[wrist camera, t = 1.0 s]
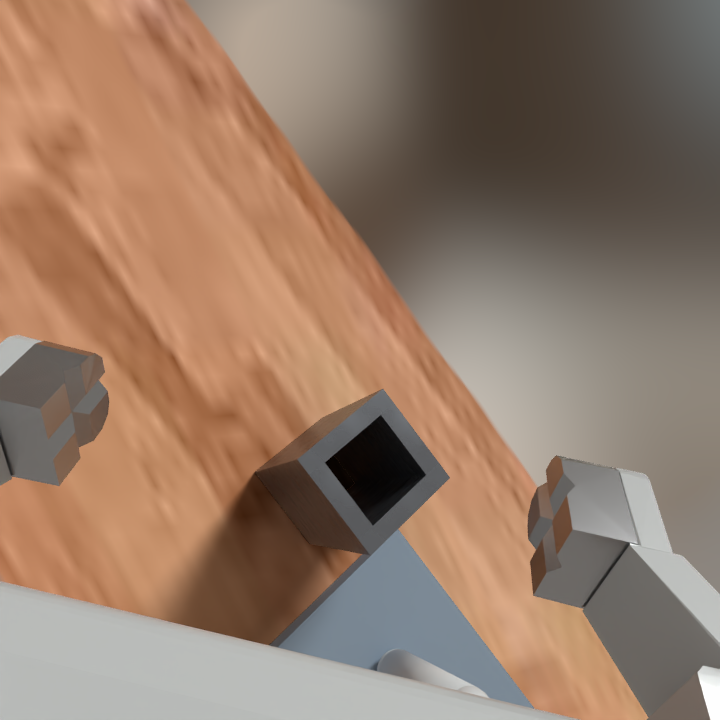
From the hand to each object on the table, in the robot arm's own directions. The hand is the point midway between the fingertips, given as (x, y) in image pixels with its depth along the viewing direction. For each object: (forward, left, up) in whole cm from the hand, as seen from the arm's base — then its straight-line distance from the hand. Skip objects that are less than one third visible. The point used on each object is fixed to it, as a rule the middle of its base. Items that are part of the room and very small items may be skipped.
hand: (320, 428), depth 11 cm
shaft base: (+19, +3, -29) cm, 35 cm away
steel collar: (+5, +7, -29) cm, 31 cm away
